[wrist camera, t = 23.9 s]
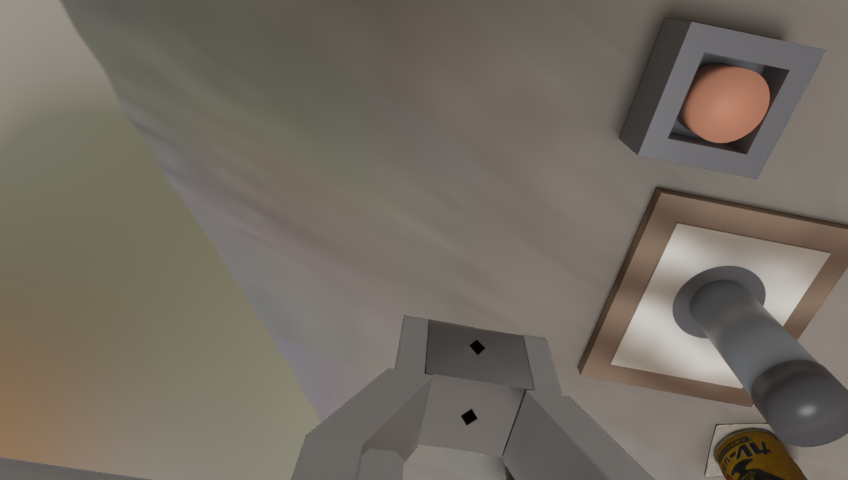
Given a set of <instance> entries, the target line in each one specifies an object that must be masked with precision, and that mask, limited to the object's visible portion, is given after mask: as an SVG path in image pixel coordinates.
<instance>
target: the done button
mask: <svg viewBox="0 0 848 480" xmlns="http://www.w3.org/2000/svg"><path fill="white" fill-rule="evenodd" d="M769 101H770V92H769V88H768V85H767V83H766V81H765V80H764V78H763V77H762V76H761V75H759V74H758V73H756V72H754V71H752V70H748V69H744V68H741V67H737V66H733V65H729V64H725V63H713V64H709V65H706V66H703V67H701V68H699V69H697V71H696V73H695V76H694V78H693V80H692V83H691V85H690V87H689V90H688V92H687V95H686V97H685V99H684V102H683V104H682V106H681V109H680V111H679V113H678V116H677V119H678V121H679V122H680V123H681V125H683V126H684V127H685V128H687V129H688V130H690V131H692V132H693V133H695V134H697V135H699V136H700V137H702V138H704V139H705V140H708V141H710V142H715V143H727V142H731V141H735V140H738V139H740V138H742V137H744V136H745V135H747V134H748V133H750V132H751V131H752V130H753V129H754V128H756V126H757V125H758V124H759V123H760V122H761V120H762V119H763V117H764V116H765V114H766V111H767V109H768V106H769Z"/></svg>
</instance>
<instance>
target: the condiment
mask: <svg viewBox="0 0 848 480" xmlns="http://www.w3.org/2000/svg"><path fill="white" fill-rule="evenodd" d="M801 448H802V447H798V446H793V445H790V444H787V443H785V442H783V441H782V440H780V439H779V438H778V437H777V435H776V434H775V432H774V431H773V430H772V428H771V427H770V425H769V424H733V425H729V424H727V425H718V426H716V429H715V434H714V438H713V441H712V445H711V449H710V454H709V458H708V464H707V470H706V474H705V477H711V476H724V477H725V479H726V480H807V478H806V477H805V476H804V474H803V473H802V471H801V470H800V468H799V467H798V465H797V464H796V463H797V461H798V457H799V453H800V451H801Z"/></svg>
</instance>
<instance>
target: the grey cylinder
mask: <svg viewBox="0 0 848 480" xmlns="http://www.w3.org/2000/svg"><path fill="white" fill-rule="evenodd" d="M690 313H691V315H692V316H693V318H694V319H695V321H696V322H697V323H698V325H699V326H700V328H701V329H702V330H703V332H704V333H705V334H706V336H707V337H708V339H709V340H710V341H711V343H712V344H713V345H714V347H715V348H716V350H717V351H718V352H719V354H720V355H721V356H722V358H723V359H724V361H725V362H726V363H727V365H728V366H729V367H730V369H731V370H732V372H733V373H734V374H735V376H736V377H737V378H738V380H739V381H740V383H741V384H742V385H743V387H744V388H745V389H746V391H747V392H748V394H749V395H750V396H751V398H752V401H753V403H754V405H755V406H756V407H757V409H758V410H759V412H760V413H761V414H762V416H763V417H764V419H765V420H766V421H767V423H768V424H769V425H770V427H771V428H772V430H773V431H774V432H775V434H776V435H777V437H778V438H779V439H780V440H782V441H783V442H785V443H787V444H790V445H793V446H798V447H814V446H820V445H824V444H828V443H830V442H833V441H835V440H837V439H839V438H841V437H843V436H844V435H846V434H847V433H848V390H847V389H846V388H845V387H844V386H843V385H842V384H841V383H840V382H839V381H838V380H837V379H836V378H835V377H834V376H833V375H832V374H831V373H830V372H829V371H828V370H827V369H826V368H825V367H824V366H823V365H821V364H819V363H818V362H817V361H816V360H815V359H814V358H813V357H812V356H811V355H810V354H809V353H808V352H807V351H806V350H805V349H804V348H803V347H802V346H801V345H800V344H799V343H798V342H797V341H796V340H795V339H794V338H793V337H792V336H791V334H790V333H789V332H788V331H787V330H786V329H785V328H784V327H783V326H782V325H781V324H780V323H779V322H778V321H777V320H776V319H775V318H774V317H773V316H772V315H771V314H770V313H769V312H768V311H767V310H766V309H765V308H764V307H763V306H762V305H761V304H760V303H759V302H758V301H757V300H756V299H755V298H754V297H753V296H752V295H751V294H750V293H749V292H748V290H747V289H746V288H745V287H744V286H743V285H741V284H740V283H738V282H736V281H733V280H717V281H713V282H710V283H708V284H706V285H704V286H703V287H701V288H700V289H699V290H698V291H697V292H696V293H695V294H694V295H693V297H692V299H691V302H690Z"/></svg>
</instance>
